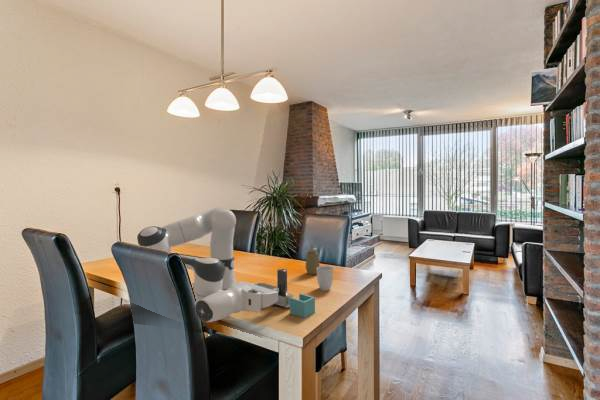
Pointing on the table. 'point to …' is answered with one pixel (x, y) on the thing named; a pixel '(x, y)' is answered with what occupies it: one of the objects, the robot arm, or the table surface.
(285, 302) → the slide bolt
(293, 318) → the table surface
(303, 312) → the socket
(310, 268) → the squeeze bottle
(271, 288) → the sleeve
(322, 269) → the cup
